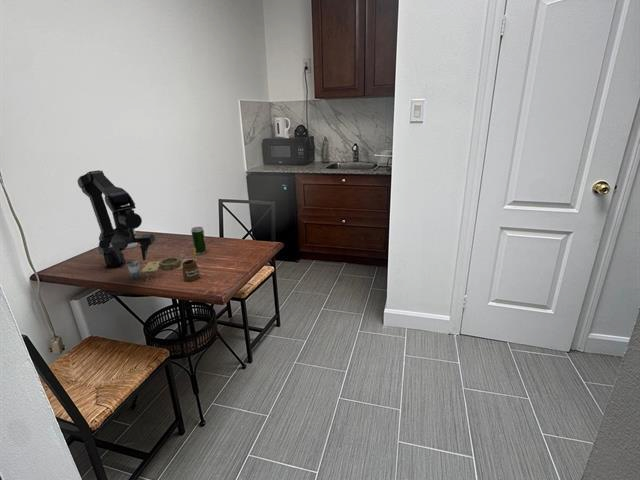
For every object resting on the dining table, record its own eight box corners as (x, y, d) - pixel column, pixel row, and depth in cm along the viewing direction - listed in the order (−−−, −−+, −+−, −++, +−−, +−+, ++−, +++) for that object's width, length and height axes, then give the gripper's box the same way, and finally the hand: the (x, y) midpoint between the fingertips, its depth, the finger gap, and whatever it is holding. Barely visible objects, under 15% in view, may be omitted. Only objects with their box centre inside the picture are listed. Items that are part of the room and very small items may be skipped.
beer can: (196, 255, 159) (192, 230, 155) (193, 251, 163) (189, 228, 159) (208, 252, 162) (204, 228, 157) (204, 249, 166) (201, 225, 162)
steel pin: (127, 280, 136) (124, 265, 134) (132, 275, 140) (128, 260, 138) (140, 279, 137) (136, 264, 134) (144, 274, 141) (140, 259, 139)
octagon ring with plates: (141, 272, 142) (139, 267, 141) (149, 263, 152) (148, 258, 151) (193, 268, 145) (192, 263, 144) (198, 259, 154) (197, 254, 153)
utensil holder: (181, 278, 136) (176, 250, 132) (196, 273, 140) (191, 246, 136) (187, 283, 132) (182, 254, 128) (203, 277, 136) (198, 249, 132)
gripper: (86, 232, 122) (97, 271, 128) (141, 228, 124) (150, 267, 130) (101, 222, 133) (110, 259, 138) (151, 219, 135) (159, 256, 140)
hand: (132, 261), depth 136 cm, fingers open, 9 cm apart
